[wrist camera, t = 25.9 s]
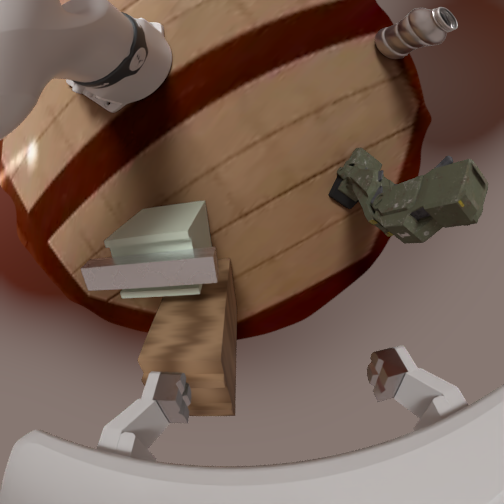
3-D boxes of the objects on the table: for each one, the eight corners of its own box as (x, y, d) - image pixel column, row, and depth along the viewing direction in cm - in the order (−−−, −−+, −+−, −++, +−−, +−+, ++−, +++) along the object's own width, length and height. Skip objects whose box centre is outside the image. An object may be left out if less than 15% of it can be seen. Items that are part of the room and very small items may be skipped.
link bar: (97, 280, 36) (88, 290, 33) (90, 259, 34) (80, 268, 31) (219, 271, 36) (217, 282, 33) (215, 246, 34) (213, 256, 31)
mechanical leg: (344, 229, 49) (472, 270, 20) (313, 209, 47) (440, 234, 18) (373, 168, 47) (504, 160, 18) (346, 147, 46) (475, 114, 16)
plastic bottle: (386, 66, 36) (452, 44, 18) (364, 38, 34) (422, 2, 16) (405, 54, 35) (471, 34, 17) (385, 28, 33) (443, -5, 14)
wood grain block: (191, 312, 56) (165, 420, 31) (179, 262, 51) (134, 367, 27) (237, 309, 56) (235, 422, 31) (230, 258, 51) (220, 368, 26)
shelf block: (152, 253, 50) (122, 298, 36) (142, 209, 47) (103, 241, 32) (212, 247, 50) (200, 294, 36) (205, 200, 47) (187, 230, 32)
